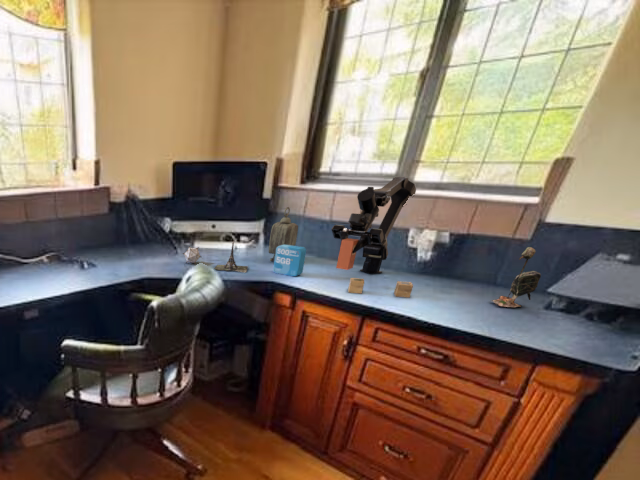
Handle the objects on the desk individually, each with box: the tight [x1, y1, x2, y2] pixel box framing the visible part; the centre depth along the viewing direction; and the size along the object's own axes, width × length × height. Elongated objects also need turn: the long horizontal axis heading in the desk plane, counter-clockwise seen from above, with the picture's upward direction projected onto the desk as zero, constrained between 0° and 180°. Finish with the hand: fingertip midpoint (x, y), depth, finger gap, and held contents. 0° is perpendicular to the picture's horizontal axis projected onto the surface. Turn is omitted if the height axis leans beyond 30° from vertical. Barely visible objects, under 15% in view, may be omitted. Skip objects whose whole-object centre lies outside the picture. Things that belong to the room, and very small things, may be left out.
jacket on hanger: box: [268, 206, 299, 262], centre depth 206 cm, size 14×9×25 cm, turn 144°
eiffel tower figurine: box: [213, 241, 249, 274], centre depth 196 cm, size 15×10×13 cm
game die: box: [182, 246, 202, 265], centre depth 209 cm, size 9×8×10 cm
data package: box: [272, 244, 307, 277], centre depth 186 cm, size 12×4×12 cm, turn 42°
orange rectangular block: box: [335, 237, 360, 271], centre depth 167 cm, size 5×5×11 cm
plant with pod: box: [491, 246, 542, 308], centre depth 141 cm, size 8×11×20 cm
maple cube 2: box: [393, 280, 414, 299], centre depth 157 cm, size 5×5×5 cm
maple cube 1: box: [347, 277, 365, 294], centre depth 162 cm, size 5×5×5 cm
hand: (346, 251), depth 165 cm, fingers closed on orange rectangular block, 5 cm apart
